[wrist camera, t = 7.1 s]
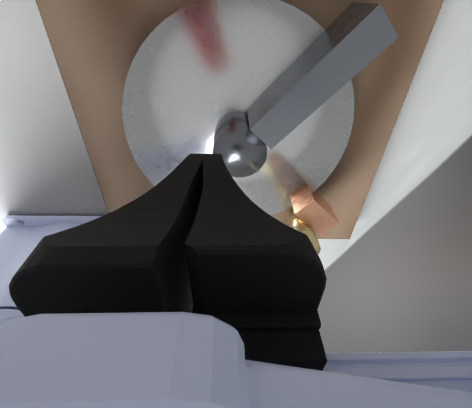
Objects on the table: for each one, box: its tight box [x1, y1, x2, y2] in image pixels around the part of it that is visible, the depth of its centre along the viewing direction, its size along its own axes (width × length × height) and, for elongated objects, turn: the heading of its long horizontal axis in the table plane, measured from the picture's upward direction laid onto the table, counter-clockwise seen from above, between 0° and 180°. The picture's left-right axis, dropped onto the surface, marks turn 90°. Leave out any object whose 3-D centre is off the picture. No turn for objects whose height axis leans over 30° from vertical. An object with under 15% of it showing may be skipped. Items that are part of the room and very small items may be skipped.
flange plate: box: [122, 0, 398, 236], centre depth 16 cm, size 16×16×4 cm
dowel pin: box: [286, 206, 320, 254], centre depth 20 cm, size 2×2×5 cm
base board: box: [36, 0, 444, 239], centre depth 19 cm, size 21×21×2 cm
